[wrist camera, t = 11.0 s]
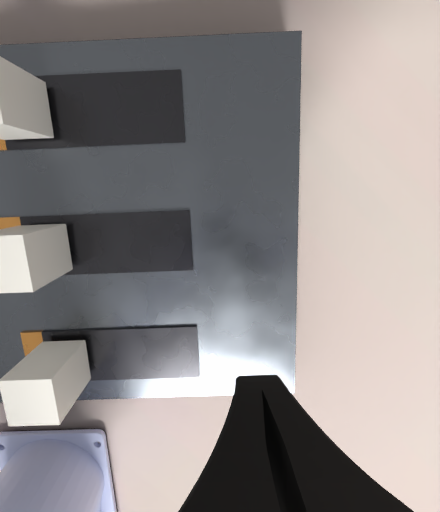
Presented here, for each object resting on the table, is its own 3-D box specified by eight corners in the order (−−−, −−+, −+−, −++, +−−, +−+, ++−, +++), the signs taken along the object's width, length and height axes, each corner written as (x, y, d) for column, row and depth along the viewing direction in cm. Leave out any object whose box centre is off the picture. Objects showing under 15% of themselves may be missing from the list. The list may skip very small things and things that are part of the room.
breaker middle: (73, 269, 16) (33, 292, 13) (27, 271, 16) (-25, 294, 13) (65, 223, 16) (22, 235, 12) (18, 225, 16) (-38, 237, 12)
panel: (284, 365, 21) (295, 395, 18) (12, 374, 21) (-22, 404, 18) (288, 56, 17) (302, 29, 14) (-55, 71, 17) (-113, 48, 14)
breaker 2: (91, 378, 18) (59, 424, 14) (49, 379, 18) (8, 426, 14) (85, 340, 17) (51, 379, 14) (42, 341, 17) (-3, 380, 14)
